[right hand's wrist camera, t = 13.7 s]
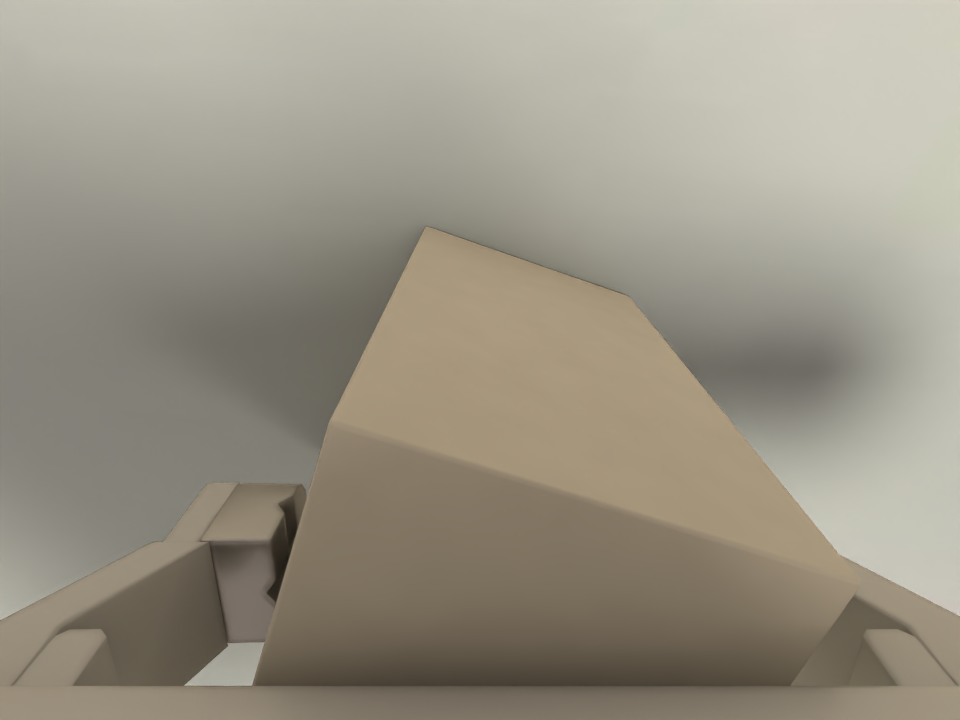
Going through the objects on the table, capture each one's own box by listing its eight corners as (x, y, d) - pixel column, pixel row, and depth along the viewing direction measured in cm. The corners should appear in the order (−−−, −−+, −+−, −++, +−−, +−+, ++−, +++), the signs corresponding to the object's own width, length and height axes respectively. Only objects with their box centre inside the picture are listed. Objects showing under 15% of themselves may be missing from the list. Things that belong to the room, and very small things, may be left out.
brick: (630, 296, 15) (865, 582, 6) (528, 525, 17) (580, 987, 8) (425, 225, 14) (329, 420, 5) (348, 472, 16) (187, 907, 7)
